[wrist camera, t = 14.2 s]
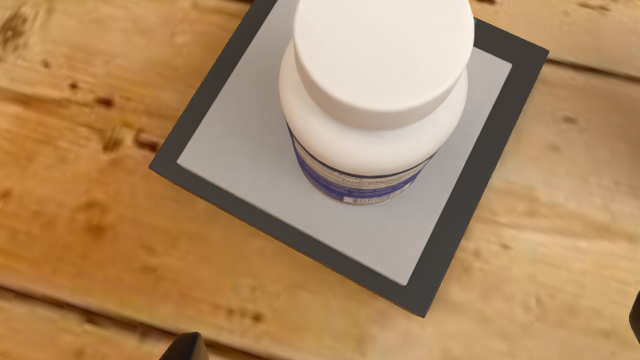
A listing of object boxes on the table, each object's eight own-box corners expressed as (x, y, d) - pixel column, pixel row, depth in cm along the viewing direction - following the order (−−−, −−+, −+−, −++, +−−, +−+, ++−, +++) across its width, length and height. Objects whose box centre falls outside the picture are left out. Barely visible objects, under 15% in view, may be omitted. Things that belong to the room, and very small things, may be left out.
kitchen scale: (529, 73, 22) (559, 40, 19) (414, 315, 20) (429, 320, 17) (298, -33, 24) (293, -77, 21) (165, 179, 21) (139, 162, 18)
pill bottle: (327, 67, 19) (324, -112, 11) (443, 113, 19) (541, -35, 10) (273, 177, 18) (220, 80, 10) (393, 231, 18) (456, 180, 9)
